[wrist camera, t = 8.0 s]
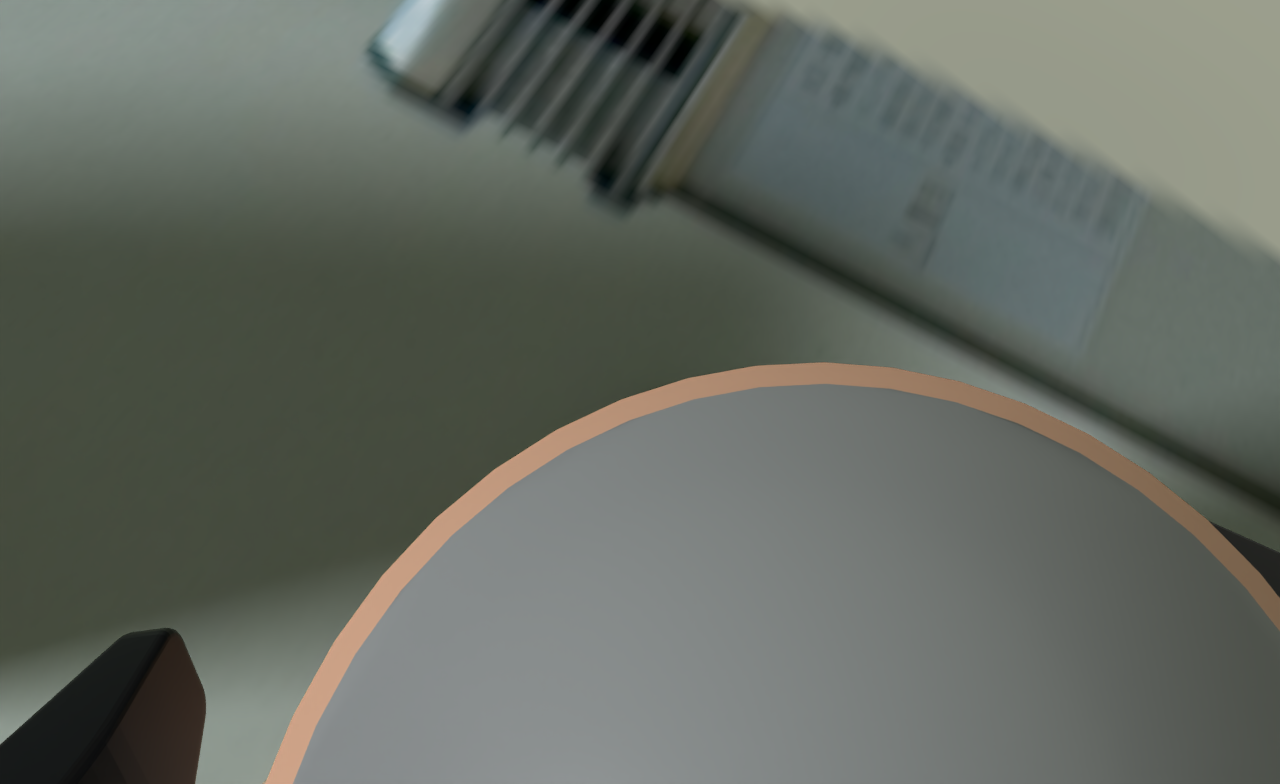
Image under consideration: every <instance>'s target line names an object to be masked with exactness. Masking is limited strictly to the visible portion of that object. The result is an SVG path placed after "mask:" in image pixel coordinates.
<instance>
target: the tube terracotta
mask: <svg viewBox="0 0 1280 784" xmlns="http://www.w3.org/2000/svg"><path fill="white" fill-rule="evenodd" d="M265 784H1280V598H1279V597H1278V595H1277V594H1276V593H1275V592H1274V590H1273V589H1272V588H1271V586H1270V585H1269V584H1268V583H1267V581H1266V580H1265V579H1264V578H1263V576H1262V575H1261V574H1260V573H1259V572H1258V571H1257V570H1256V569H1255V568H1254V567H1253V566H1252V565H1251V564H1250V562H1249V561H1248V560H1247V559H1246V558H1245V557H1244V556H1243V555H1242V554H1241V553H1240V552H1239V551H1238V550H1237V549H1236V548H1235V547H1234V546H1233V545H1232V544H1231V543H1230V542H1229V541H1228V540H1227V539H1226V538H1225V537H1224V536H1223V535H1222V534H1221V533H1220V532H1219V531H1218V530H1217V529H1216V528H1215V527H1214V526H1213V525H1212V524H1211V523H1210V522H1209V521H1208V520H1207V519H1206V518H1205V517H1203V516H1202V515H1201V514H1200V513H1198V512H1197V511H1196V510H1195V509H1194V508H1192V507H1191V506H1190V505H1189V504H1187V503H1186V502H1185V501H1184V500H1182V499H1181V498H1180V497H1179V496H1177V495H1176V494H1175V493H1174V492H1172V491H1171V490H1170V489H1169V488H1168V487H1166V486H1165V485H1164V484H1163V483H1161V482H1160V481H1159V480H1158V479H1156V478H1155V477H1154V476H1153V475H1151V474H1150V473H1149V472H1147V471H1146V470H1144V469H1143V468H1141V467H1139V466H1138V465H1136V464H1135V463H1133V462H1132V461H1130V460H1128V459H1127V458H1125V457H1124V456H1122V455H1121V454H1119V453H1117V452H1116V451H1114V450H1113V449H1111V448H1109V447H1108V446H1106V445H1105V444H1103V443H1102V442H1100V441H1098V440H1097V439H1095V438H1094V437H1092V436H1091V435H1089V434H1087V433H1085V432H1083V431H1081V430H1079V429H1077V428H1074V427H1072V426H1070V425H1068V424H1066V423H1064V422H1062V421H1060V420H1058V419H1056V418H1054V417H1052V416H1050V415H1047V414H1045V413H1043V412H1041V411H1039V410H1037V409H1035V408H1033V407H1031V406H1029V405H1027V404H1024V403H1021V402H1018V401H1015V400H1012V399H1010V398H1007V397H1004V396H1001V395H998V394H995V393H992V392H989V391H986V390H983V389H980V388H977V387H974V386H971V385H968V384H965V383H962V382H959V381H955V380H950V379H945V378H940V377H935V376H930V375H925V374H921V373H916V372H911V371H906V370H901V369H896V368H891V367H878V366H865V365H852V364H839V363H826V362H821V363H801V364H781V365H762V366H752V367H746V368H741V369H735V370H730V371H724V372H719V373H713V374H708V375H702V376H697V377H691V378H687V379H684V380H680V381H677V382H674V383H671V384H668V385H665V386H662V387H659V388H655V389H652V390H649V391H646V392H643V393H640V394H637V395H634V396H630V397H627V398H624V399H621V400H619V401H617V402H615V403H612V404H610V405H608V406H606V407H604V408H602V409H600V410H598V411H595V412H593V413H591V414H589V415H587V416H585V417H583V418H581V419H578V420H576V421H574V422H572V423H570V424H568V425H566V426H564V427H561V428H559V429H557V430H555V431H554V432H552V433H551V434H549V435H547V436H546V437H544V438H543V439H541V440H540V441H538V442H537V443H535V444H533V445H532V446H530V447H529V448H527V449H526V450H524V451H522V452H521V453H519V454H518V455H516V456H515V457H513V458H511V459H510V460H508V461H507V462H505V463H504V464H502V465H500V466H499V467H497V468H496V469H494V470H493V471H492V472H491V473H489V474H488V475H487V476H486V477H485V478H483V479H482V480H481V481H480V482H479V483H477V484H476V485H475V486H474V487H473V488H471V489H470V490H469V491H468V492H467V493H465V494H464V495H463V496H462V497H461V498H459V499H458V500H457V501H456V502H455V503H453V504H452V505H451V506H450V507H449V508H447V509H446V510H445V511H444V512H443V513H441V514H440V515H439V516H438V517H437V518H435V520H434V521H433V522H432V523H431V524H430V525H429V526H428V527H427V528H426V529H425V530H424V531H423V532H422V533H421V535H420V536H419V537H418V538H417V539H416V540H415V541H414V542H413V543H412V544H411V545H410V546H409V547H408V548H407V549H406V551H405V552H404V553H403V554H402V555H401V556H400V557H399V558H398V559H397V560H396V561H395V562H394V563H393V564H392V566H391V567H390V568H389V569H388V570H387V571H386V572H385V573H384V574H383V575H382V576H381V578H380V579H379V581H378V582H377V583H376V585H375V586H374V587H373V589H372V590H371V592H370V593H369V594H368V596H367V597H366V598H365V600H364V601H363V603H362V604H361V605H360V607H359V608H358V610H357V611H356V612H355V614H354V615H353V616H352V618H351V619H350V621H349V622H348V623H347V625H346V626H345V627H344V629H343V630H342V632H341V633H340V634H339V636H338V637H337V638H336V640H335V641H334V643H333V645H332V646H331V648H330V650H329V652H328V654H327V655H326V657H325V659H324V661H323V663H322V664H321V666H320V668H319V670H318V672H317V673H316V675H315V677H314V679H313V681H312V682H311V684H310V686H309V688H308V690H307V691H306V693H305V695H304V697H303V699H302V700H301V702H300V704H299V706H298V708H297V709H296V711H295V713H294V715H293V717H292V719H291V722H290V724H289V727H288V729H287V732H286V734H285V736H284V739H283V741H282V744H281V746H280V749H279V751H278V754H277V756H276V758H275V761H274V763H273V766H272V768H271V771H270V773H269V776H268V778H267V781H266V783H265Z"/></svg>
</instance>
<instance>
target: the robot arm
mask: <svg viewBox="0 0 1280 784" xmlns="http://www.w3.org/2000/svg"><path fill="white" fill-rule="evenodd" d="M1209 522H1210V521H1209ZM1210 523H1211V524H1212V525H1213V526H1214V527H1215V528H1216V529H1217V530H1218V531H1219V532H1220V533H1221V534H1222V535H1223V536H1224V537H1225V538H1226V539H1227V540H1228V541H1229V542H1230V543H1231V544H1232V545H1233V546H1234V547H1235V548H1236V549H1237V550H1238V551H1239V552H1240V553H1241V554H1242V555H1243V556H1244V557H1245V558H1246V559H1247V560H1248V561H1249V562H1250V564H1251V565H1252V566H1253V567H1254V568H1255V569H1256V570H1257V571H1258V572H1259V573H1260V574H1261V575H1262V576H1263V578H1264V579H1265V580H1266V581H1267V583H1268V584H1269V585H1270V586H1271V588H1272V589H1273V590H1274V592H1275V593H1276V594H1277V595H1278V597H1279V598H1280V553H1279V552H1277V551H1275V550H1272V549H1270V548H1268V547H1266V546H1263V545H1261V544H1259V543H1257V542H1254V541H1252V540H1250V539H1248V538H1246V537H1243V536H1241V535H1239V534H1237V533H1234V532H1232V531H1230V530H1228V529H1225V528H1223V527H1221V526H1219V525H1216V524H1214V523H1212V522H1210ZM205 715H206V699H205V693H204V689H203V686H202V684H201V681H200V679H199V677H198V674H197V672H196V670H195V667H194V665H193V662H192V660H191V658H190V655H189V653H188V651H187V648H186V646H185V643H184V641H183V639H182V637H181V636H180V634H179V633H178V632H177V631H176V630H174V629H170V628H162V629H154V630H146V631H138V632H132V633H129V634H126V635H124V636H122V637H121V638H119V639H118V640H117V641H116V642H114V643H113V644H112V645H111V646H110V647H109V648H108V649H107V650H106V651H104V652H103V653H102V654H101V655H100V656H99V657H98V658H97V659H95V660H94V661H93V662H92V663H91V664H90V665H89V666H88V667H87V668H85V669H84V670H83V671H82V672H81V673H80V674H79V675H78V676H76V677H75V678H74V679H73V680H72V681H71V682H70V683H69V684H67V685H66V686H65V687H64V688H63V689H62V690H61V691H60V692H59V693H57V694H56V695H55V696H54V697H53V698H52V699H51V700H50V701H48V702H47V703H46V704H45V705H44V706H43V707H42V708H41V709H40V710H38V711H37V712H36V713H35V714H34V715H33V716H32V717H31V718H29V719H28V720H27V721H26V722H25V723H24V724H23V725H22V726H21V727H19V728H18V729H17V730H16V731H15V732H14V733H13V734H12V735H10V736H9V737H8V738H7V739H6V740H5V741H4V742H3V743H2V744H0V784H195V781H196V774H197V768H198V761H199V755H200V748H201V742H202V736H203V729H204V723H205Z"/></svg>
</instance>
